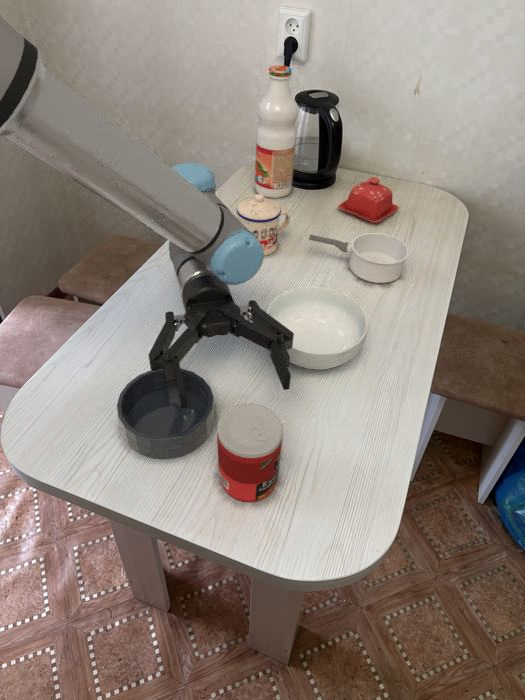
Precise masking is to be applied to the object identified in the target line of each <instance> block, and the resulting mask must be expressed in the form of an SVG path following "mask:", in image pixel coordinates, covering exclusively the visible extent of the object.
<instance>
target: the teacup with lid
mask: <svg viewBox="0 0 525 700" xmlns="http://www.w3.org/2000/svg"><path fill="white" fill-rule="evenodd" d="M235 211H236V214H237V219H238V220H239V221H240V222H241V223H242V224H243V225H244V226H245V227H246V228H247V229H248V230H249V231H250V232H252V233H253V234H254V235H255V237H256V239H257V240H258V241H259V242H260V244H261V245H262V248H263V252H264V257H265V256H269V255H271V254H273V253H274V252H275V251H276V250H277V248H278V241H279V234H280V233H283V232H284V231H285V230H286V229H287V228H288V227H289V225H290V222H291V215H290V213H289V211H287V210H285V209H281V206H280V205H279V204H278V202H276V201H275V200H273V199H272V198H269V197H265V196H263V195H262V194H259V193H256V194H255V195H254V197H247V198H245V199H243V200H241V201H240V202H239V203H238V204H237V206H236V210H235ZM280 216H285V220H284V222H283V224H282V225H281V226H279V224H280Z"/></svg>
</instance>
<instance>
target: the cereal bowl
mask: <svg viewBox="0 0 525 700" xmlns="http://www.w3.org/2000/svg"><path fill="white" fill-rule="evenodd" d="M265 312H266V313H267V314H269V315H270V316H271V317H273V318H274V319H275V320H277V321H278V322H280V323H281V324H282V325H284V326H285V327H286V328H288V329H289V330H290V331H292V332H293V333H294V337H293V346H292V348H291V349H287V352H288V354H289V356H290V360H289V363H291V364H293V365H296V366H297V367H301V368H305V369H310V370H311V369H312V370H326V369H327V370H328V369H332V368H336V367H339V366H341V365H344V364H345V363H348V361H350V360H351V359H353V358H354V357H356V355H358V353H359V352H360V351H361V349H362V347H363V345H364V344H365V341H366V338H367V335H368V330H369V321H368V320H369V319H368V315H367V313H366V311H365V309H364V308H363V306H362V305H361V304H360V303H359V302H358V301H357V300H356V299H354V298H353V297H351V296H350V295H348V294H347V293H345V292H343V291H340V290H338V289H334V288H331V287H327V286H319V285H318V286H317V285H303V286H297V287H293V288H289V289H287V290H284V291H283V292H281V293H279V294H277V295H275V297H273V299H272V300H271V301H270V303H269V304H268V306H267V308H266V311H265Z"/></svg>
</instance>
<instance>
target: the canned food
mask: <svg viewBox="0 0 525 700" xmlns="http://www.w3.org/2000/svg"><path fill="white" fill-rule="evenodd" d="M217 422H218V423H217V427H216V437H217V439H216V440H217V443H216V445H217V464H218V465H217V467H218V479H219V483H220V485H221V486H222V488H223V490H224V492H226V493H227V495H229V496H230V497H231V498H232V499H235V500H237V501H240V502H243V503H256V502H259V501H262V500H264V499H265V498H267V497H269V496H270V495H271V494H272V492H273V491H274V490H275V488H276V487H277V483H278V479H279V473H280V463H281V456H282V448H283V447H282V446H283V435H284V431H283V430H284V429H283V424H282V422H281V419H280V418H279V417H278V415H277V414H276V413H275V412H274V411H273V410H272V409H270V408H268V407H266V406H264V405H262V404H257V403H250V402H249V403H248V402H247V403H245V402H243V403H240V404H236V405H233V406H231V407H229V408H227V409H226V410H225V411H224V412H223V413H222V414H221V415H220V417H219V419H218V421H217Z"/></svg>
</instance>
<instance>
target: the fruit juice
mask: <svg viewBox="0 0 525 700" xmlns="http://www.w3.org/2000/svg"><path fill="white" fill-rule="evenodd" d="M268 77H269V83H268V86H267V87H268V88H267V90H266V93H265V95H264V96H263V97H262V99H261V100H260V101H259V103H258V107H257V117H258V122H259V123H258V126H257V129H256V135H255V164H254V170H255V171H254V189H255V192H256V194H262V195H263V196H264V198H269V199H277V198H278V199H279V198H284V197H286V196H288V195H290V193H291V192H292V187H293V179H294V178H293V177H294V165H295V153H296V144H297V131H296V125H295V124H296V121H297V118H298V114H299V113H298V112H299V111H298V105H297V103H296V101H295V99H294V98H293V95H292V92H291V87H290V86H291V85H290V79H291V77H292V68H291V67H290V66H287V65H280V64H279V65H276V64H275V65H271V66H269V68H268Z"/></svg>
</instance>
